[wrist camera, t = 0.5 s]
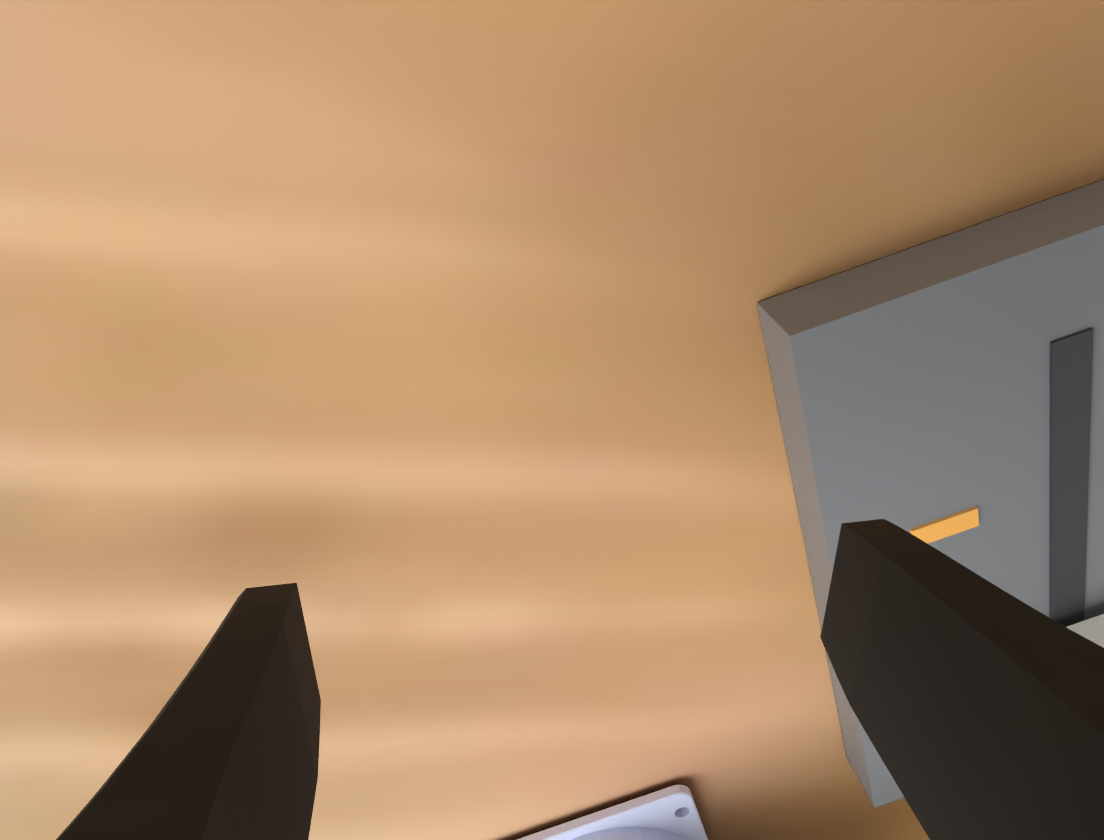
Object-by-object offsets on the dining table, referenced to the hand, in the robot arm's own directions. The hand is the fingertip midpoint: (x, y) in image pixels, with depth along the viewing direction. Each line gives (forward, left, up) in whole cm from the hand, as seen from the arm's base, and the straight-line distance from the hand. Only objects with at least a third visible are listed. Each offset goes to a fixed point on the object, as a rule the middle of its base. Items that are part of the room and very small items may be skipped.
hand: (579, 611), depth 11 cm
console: (-11, -12, -10) cm, 19 cm away
